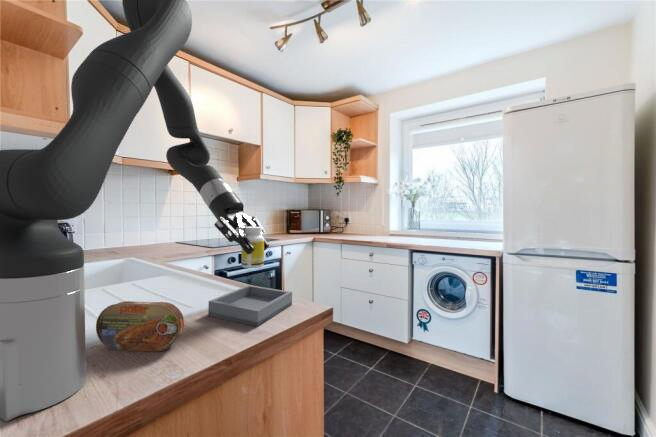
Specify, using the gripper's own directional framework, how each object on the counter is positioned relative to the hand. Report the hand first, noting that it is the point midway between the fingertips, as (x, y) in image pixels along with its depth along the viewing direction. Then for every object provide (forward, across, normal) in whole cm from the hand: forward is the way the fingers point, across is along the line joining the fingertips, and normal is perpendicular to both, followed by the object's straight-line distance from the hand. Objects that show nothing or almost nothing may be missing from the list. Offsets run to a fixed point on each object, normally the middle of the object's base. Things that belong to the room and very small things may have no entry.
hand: (259, 250), depth 70 cm
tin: (+5, -24, +17) cm, 30 cm away
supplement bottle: (+2, 0, +4) cm, 5 cm away
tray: (+10, 0, +12) cm, 15 cm away
